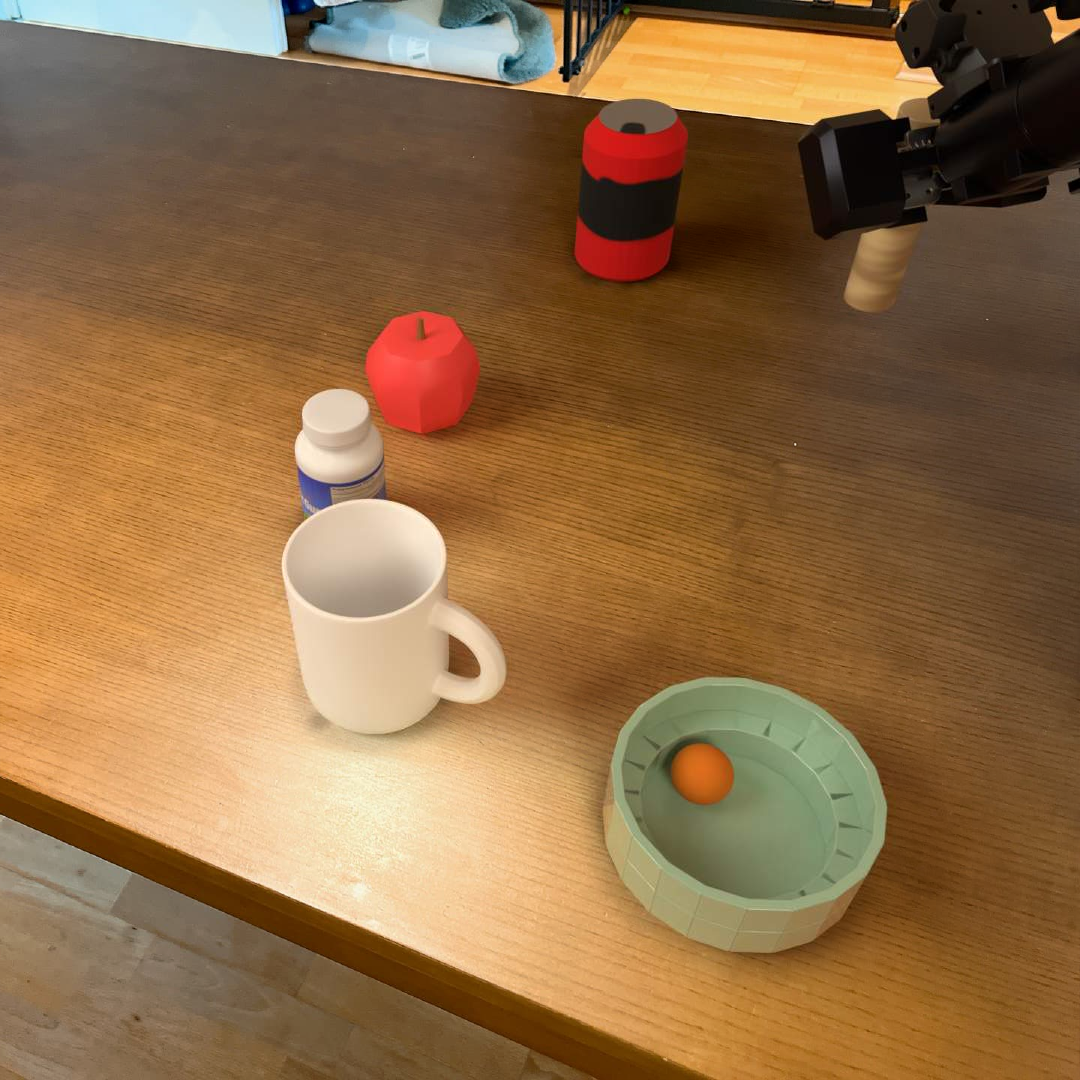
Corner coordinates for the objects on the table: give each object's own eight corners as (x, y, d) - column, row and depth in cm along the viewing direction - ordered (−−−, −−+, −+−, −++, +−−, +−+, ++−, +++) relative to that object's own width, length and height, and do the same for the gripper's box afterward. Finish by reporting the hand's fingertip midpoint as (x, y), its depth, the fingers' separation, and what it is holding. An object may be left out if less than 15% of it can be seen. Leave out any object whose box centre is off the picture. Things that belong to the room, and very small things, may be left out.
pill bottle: (295, 510, 71) (275, 395, 63) (371, 486, 72) (360, 370, 64) (322, 566, 67) (304, 451, 60) (402, 540, 68) (394, 423, 61)
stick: (895, 288, 72) (959, 99, 63) (894, 316, 70) (959, 124, 61) (844, 282, 73) (900, 95, 64) (842, 309, 71) (898, 119, 62)
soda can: (567, 278, 86) (577, 136, 78) (582, 229, 91) (594, 90, 82) (663, 288, 84) (685, 144, 76) (673, 237, 89) (695, 96, 80)
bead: (732, 773, 55) (743, 741, 52) (723, 824, 53) (734, 792, 50) (673, 756, 55) (681, 724, 53) (661, 805, 54) (669, 774, 51)
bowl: (866, 770, 55) (895, 715, 51) (844, 995, 47) (876, 950, 44) (630, 706, 58) (641, 651, 55) (576, 906, 51) (585, 857, 47)
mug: (534, 679, 60) (544, 555, 52) (466, 794, 55) (466, 677, 48) (352, 602, 65) (337, 479, 57) (276, 702, 60) (248, 582, 53)
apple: (345, 412, 77) (335, 319, 71) (427, 363, 80) (424, 270, 74) (420, 466, 73) (416, 372, 67) (503, 412, 76) (506, 318, 70)
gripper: (1215, -91, 53) (999, 49, 68) (861, -34, 51) (722, 96, 67) (1254, 132, 53) (1029, 222, 69) (903, 197, 52) (755, 273, 67)
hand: (885, 199), depth 68 cm, fingers closed on stick, 3 cm apart
